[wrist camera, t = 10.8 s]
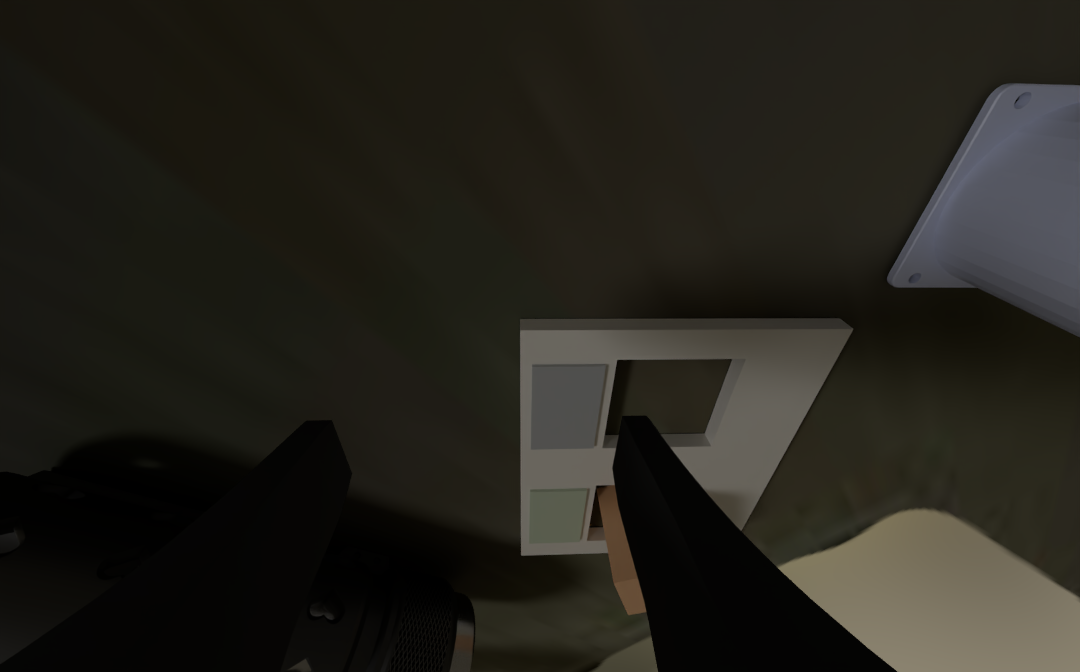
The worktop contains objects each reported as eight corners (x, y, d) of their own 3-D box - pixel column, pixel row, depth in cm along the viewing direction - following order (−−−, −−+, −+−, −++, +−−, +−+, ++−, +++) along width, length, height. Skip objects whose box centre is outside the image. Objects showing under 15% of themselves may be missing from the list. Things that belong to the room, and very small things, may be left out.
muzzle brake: (37, 418, 22) (-279, 650, 13) (487, 552, 31) (475, 734, 23) (36, 508, 26) (-202, 726, 17) (433, 600, 36) (406, 770, 27)
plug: (662, 473, 27) (695, 566, 22) (671, 513, 29) (702, 605, 24) (596, 488, 27) (613, 582, 22) (611, 526, 30) (629, 618, 25)
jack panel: (839, 318, 20) (856, 331, 19) (725, 536, 31) (732, 551, 30) (520, 318, 19) (520, 332, 18) (520, 542, 30) (521, 558, 29)
